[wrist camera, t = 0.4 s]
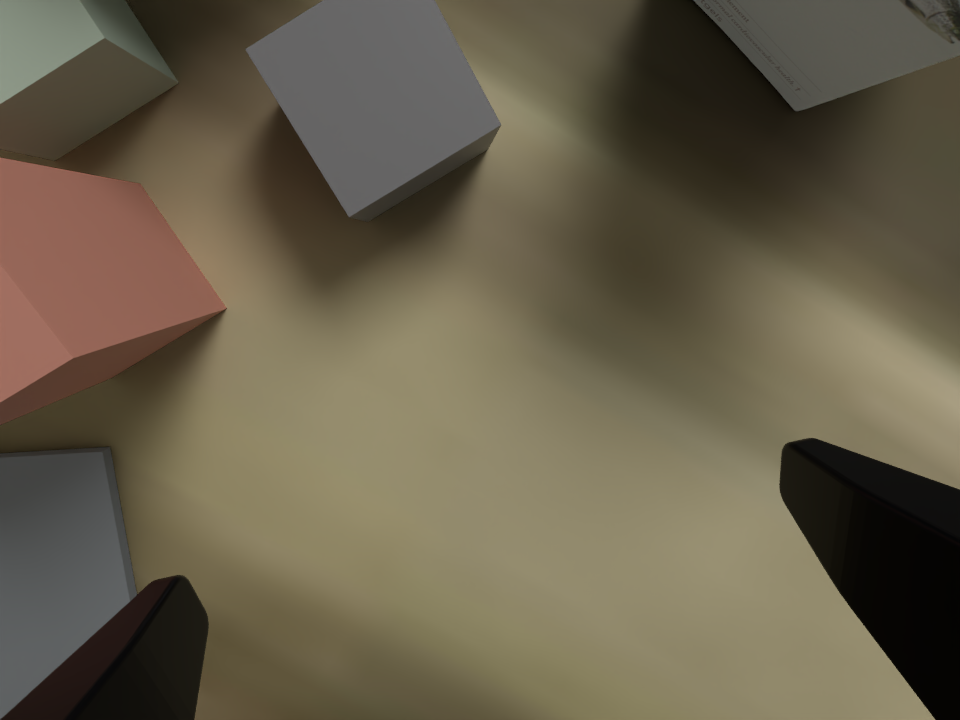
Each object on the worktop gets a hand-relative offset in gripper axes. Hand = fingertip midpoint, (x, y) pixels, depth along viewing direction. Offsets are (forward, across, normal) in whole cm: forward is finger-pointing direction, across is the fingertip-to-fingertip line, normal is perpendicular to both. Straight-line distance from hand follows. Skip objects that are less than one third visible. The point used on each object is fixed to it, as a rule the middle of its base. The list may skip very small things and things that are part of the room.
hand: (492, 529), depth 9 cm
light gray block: (+15, +1, -5) cm, 16 cm away
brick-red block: (+14, +11, -2) cm, 18 cm away
